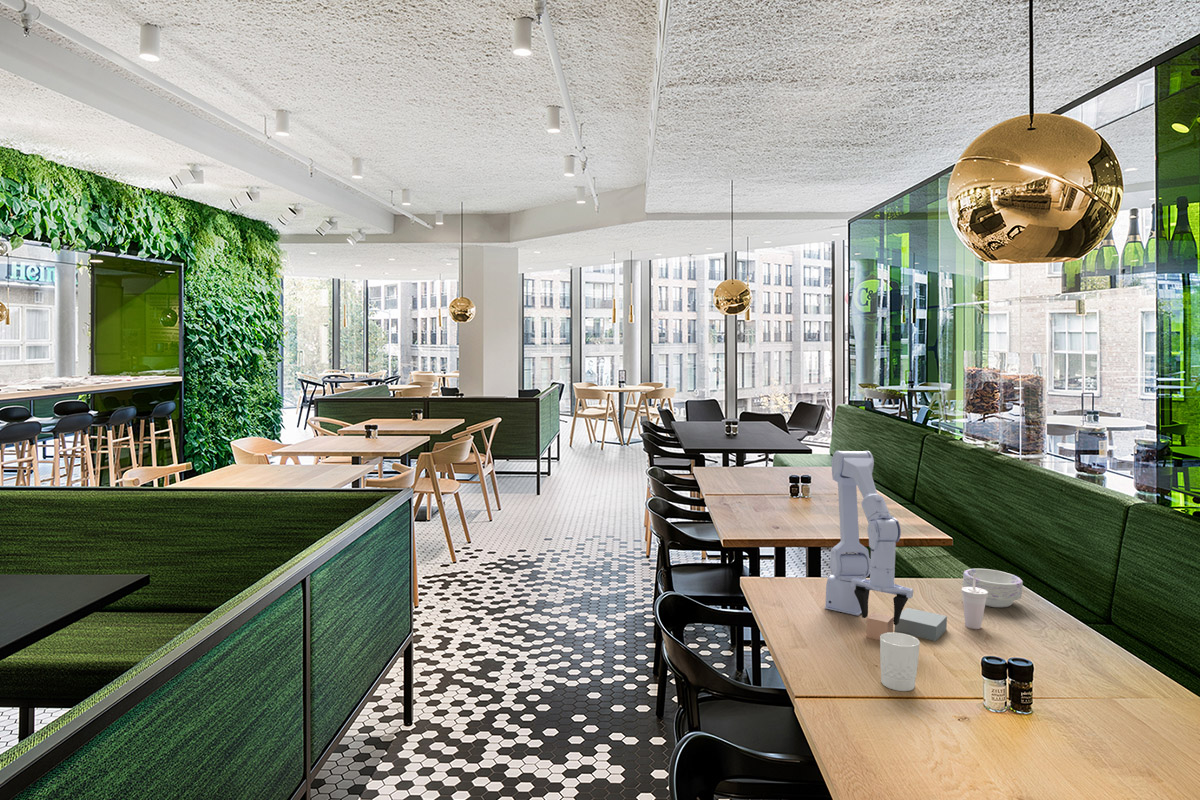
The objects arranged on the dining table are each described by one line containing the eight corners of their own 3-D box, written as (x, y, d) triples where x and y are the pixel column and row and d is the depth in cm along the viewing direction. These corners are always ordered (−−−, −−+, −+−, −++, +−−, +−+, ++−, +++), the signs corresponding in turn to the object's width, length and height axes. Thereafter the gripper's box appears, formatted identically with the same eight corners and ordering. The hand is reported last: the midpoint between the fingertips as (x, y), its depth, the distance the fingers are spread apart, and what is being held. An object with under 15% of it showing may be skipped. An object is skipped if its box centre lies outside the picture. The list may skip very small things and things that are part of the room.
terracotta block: (866, 637, 191) (867, 617, 190) (872, 631, 195) (873, 612, 194) (886, 642, 188) (887, 622, 187) (892, 636, 192) (893, 616, 191)
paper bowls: (1032, 612, 212) (1034, 584, 211) (977, 610, 212) (978, 582, 211) (1004, 594, 227) (1005, 568, 226) (952, 593, 227) (954, 567, 226)
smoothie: (980, 622, 202) (983, 570, 201) (990, 631, 196) (993, 578, 195) (955, 621, 203) (958, 569, 202) (964, 630, 196) (967, 576, 196)
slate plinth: (894, 632, 195) (895, 617, 195) (906, 622, 203) (906, 607, 203) (935, 642, 189) (936, 626, 189) (946, 631, 197) (947, 616, 196)
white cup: (916, 680, 166) (918, 635, 165) (918, 695, 158) (920, 648, 158) (877, 674, 168) (879, 630, 168) (878, 689, 161) (880, 643, 160)
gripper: (848, 564, 191) (846, 618, 192) (908, 575, 183) (905, 631, 183) (857, 559, 197) (855, 610, 198) (916, 569, 188) (913, 623, 189)
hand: (880, 620), depth 191 cm, fingers open, 7 cm apart
